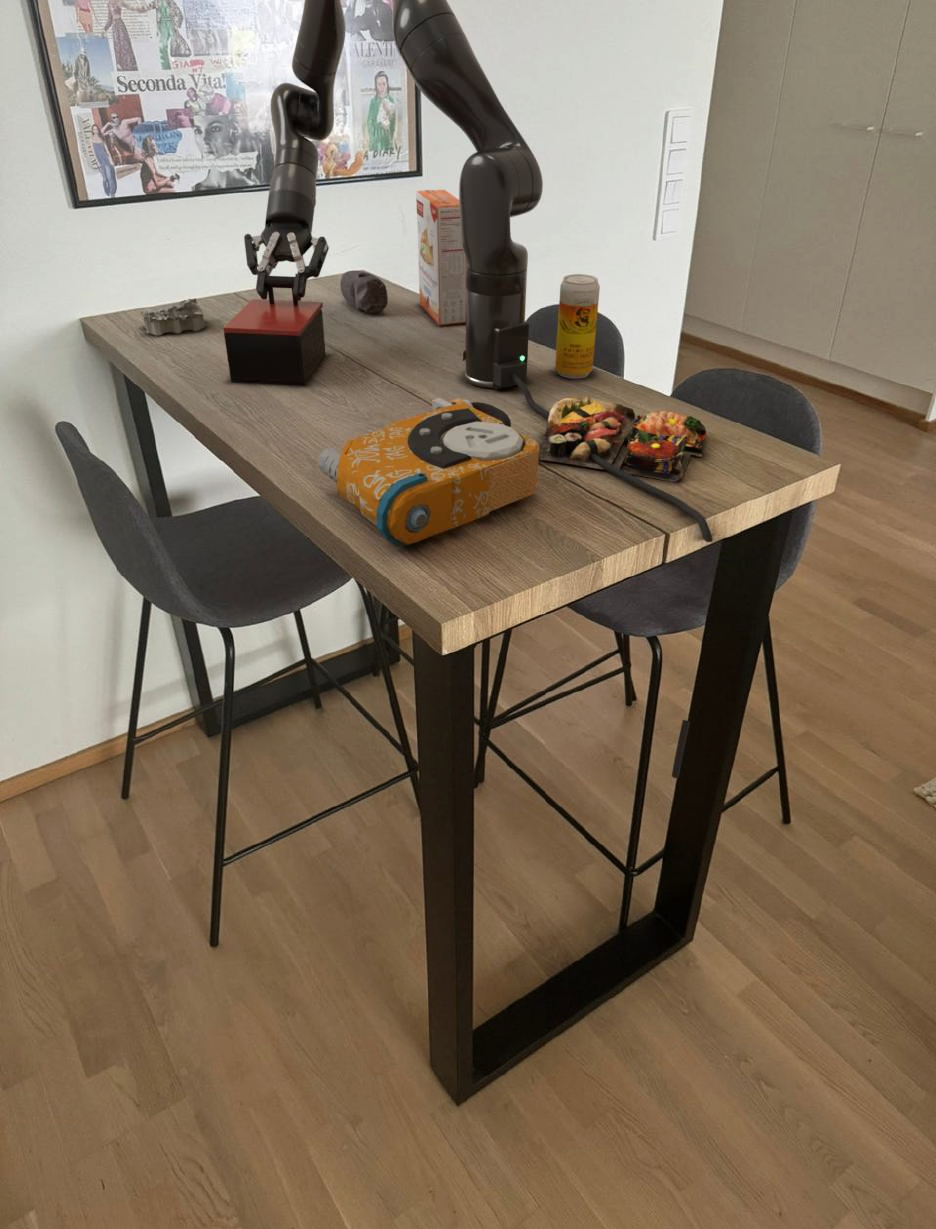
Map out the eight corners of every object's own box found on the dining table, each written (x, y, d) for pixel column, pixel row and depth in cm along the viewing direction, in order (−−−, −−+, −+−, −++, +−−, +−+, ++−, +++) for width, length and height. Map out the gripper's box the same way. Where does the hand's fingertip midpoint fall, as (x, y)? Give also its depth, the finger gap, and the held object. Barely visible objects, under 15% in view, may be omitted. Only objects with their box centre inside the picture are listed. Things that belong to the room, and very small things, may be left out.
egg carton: (202, 319, 168) (198, 297, 166) (207, 331, 162) (204, 308, 160) (143, 325, 165) (138, 302, 163) (146, 337, 159) (141, 314, 157)
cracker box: (417, 305, 176) (414, 190, 164) (446, 303, 178) (446, 188, 166) (436, 327, 166) (435, 205, 153) (468, 324, 167) (468, 203, 155)
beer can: (562, 381, 144) (569, 285, 135) (549, 368, 148) (555, 274, 140) (597, 377, 145) (606, 282, 136) (583, 365, 150) (591, 272, 141)
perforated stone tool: (333, 300, 179) (330, 263, 175) (357, 296, 181) (354, 260, 177) (366, 320, 168) (363, 282, 164) (390, 316, 171) (389, 278, 167)
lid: (252, 303, 149) (248, 271, 146) (323, 306, 148) (320, 274, 145) (223, 332, 138) (218, 298, 134) (299, 336, 136) (296, 301, 133)
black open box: (257, 352, 153) (251, 306, 149) (325, 355, 152) (322, 309, 148) (230, 382, 142) (223, 333, 138) (304, 385, 141) (299, 336, 137)
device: (283, 427, 108) (475, 372, 123) (290, 489, 112) (474, 429, 128) (390, 497, 93) (593, 425, 109) (394, 564, 98) (587, 486, 114)
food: (526, 459, 120) (527, 434, 118) (562, 408, 134) (564, 385, 132) (691, 485, 114) (695, 460, 112) (710, 430, 128) (714, 406, 126)
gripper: (242, 186, 144) (228, 284, 141) (329, 188, 143) (317, 287, 140) (256, 214, 151) (244, 307, 149) (339, 217, 150) (328, 311, 147)
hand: (279, 297), depth 144 cm, fingers closed on lid, 5 cm apart
